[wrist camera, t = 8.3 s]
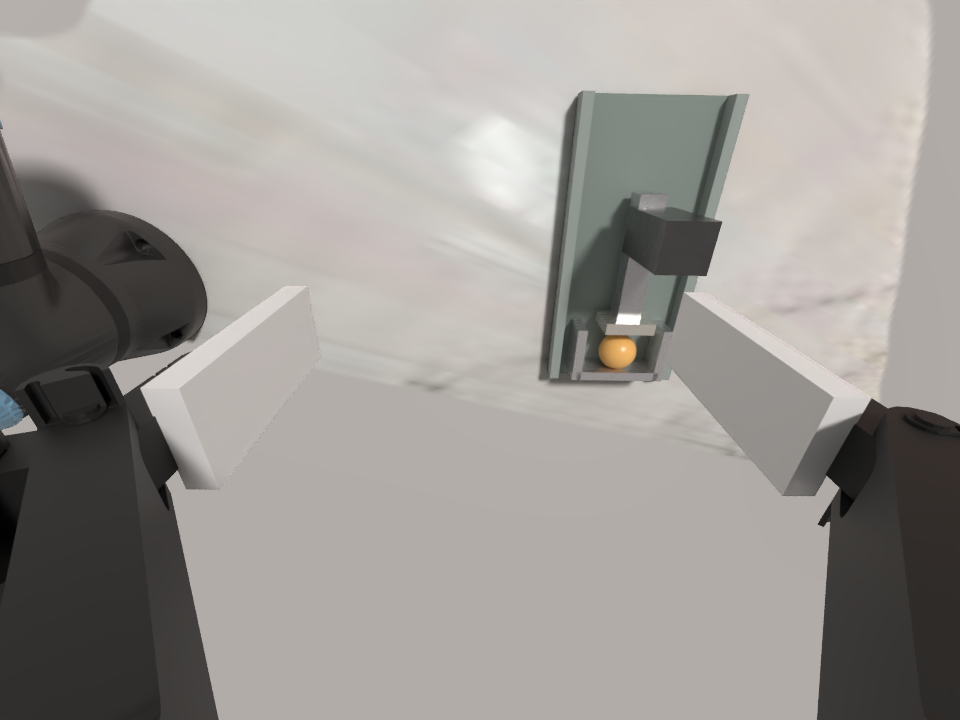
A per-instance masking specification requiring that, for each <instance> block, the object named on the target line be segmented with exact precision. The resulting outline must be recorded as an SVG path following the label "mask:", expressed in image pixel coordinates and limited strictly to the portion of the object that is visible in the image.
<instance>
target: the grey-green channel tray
mask: <svg viewBox="0 0 960 720" xmlns="http://www.w3.org/2000/svg"><path fill="white" fill-rule="evenodd" d="M748 98H749V94H735V95H730V96H707V95H658V94H609V93H595V91H582V92H580V93H579V94H578V99H577V108H576V117H575V126H574V135H573V144H572V153H571V162H570V171H569V180H568V189H567V198H566V207H565V216H564V225H563V234H562V243H561V251H560V260H559V269H558V278H557V287H556V296H555V305H554V314H553V323H552V332H551V341H550V350H549V359H548V368H547V371H548V374H549V377H550V378H559V372H561V373H568V370H567V368H566V359H567V351H568V344H569V337H570V329H571V322H572V318H580V319H581V320H582V321H583V323H584V325H585V326H586V328H587V330H588V336H587V342H586V348H585V355H584V358H600V357H599V353H598V350H599V345H600V343H601V341H602V340H603V339H604V338H605V337H606V336H608V335H605V334H604V332H603V331H602V329H601V328H600V326H599V325H598V323H597V322H596V320H595V318H596V312H597V310H610V309H611V304H612V298H613V293H614V287H615V282H616V276H617V271H618V265H619V260H620V254H621V249H622V243H623V238H624V233H625V227H626V222H627V216H628V211H629V205H630V200H631V194H632V192H655V193H661V194H665V195H668V197H667V202H666V206H665V207H675V208H678V209H682V210H685V211H688V212H692V213H695V214H698V215H702V216H705V217H708V218H712V219H714V218H715V214H716V211H717V207H718V204H719V200H720V197H721V193H722V190H723V186H724V183H725V179H726V175H727V172H728V168H729V165H730V161H731V158H732V154H733V151H734V147H735V144H736V140H737V137H738V133H739V129H740V126H741V122H742V119H743V115H744V112H745V108H746V105H747V101H748ZM697 278H698V276H676V275H654V274H652V273H650V278H649V282H648V287H647V291H646V296H645V300H644V305H643V309H642V311H643V312H644V313H645V314H646V315H647V316H648V317H649V318H650V319H651V320H662V321H663V322H664V323H665V324H666V325H667V326H668V327H669V328H670V329H671V330H672V331H673V330H674V326H675V323H676V319H677V315H678V312H679V308H680V304H681V300H682V297H683V293H684V292H694V289H695V285H696V282H697ZM628 336H629V337H630V338H631V339H632V340H633V341H634V343H635V345H636V356H635V359H643V355H644V351H645V347H646V343H647V338H648V336H646V335H628ZM671 370H672V369H671V368H670V367H669V365H668V364H667V363H666V364H665V367H664V371H663V375H662V378H661V380H669V377H670V374H671Z"/></svg>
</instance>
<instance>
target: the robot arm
mask: <svg viewBox="0 0 960 720" xmlns="http://www.w3.org/2000/svg"><path fill="white" fill-rule="evenodd" d="M0 129H3V127H2V124H1V122H0ZM206 309H207V300H206V293H205V289H204V285H203V282H202V280H201V277H200V275H199V273H198V271H197V269H196V268H195V266H194V264H193V263H192V261H191V260H190V259H189V257H188V256H187V255H186V253H185V252H184V251H183V250H182V249H181V248H180V247H179V246H178V245H177V244H176V243H175V242H174V241H173V240H172V239H171V238H170V237H168V236H167V235H166V234H165V233H163V232H162V231H160V230H159V229H158V228H156V227H154V226H153V225H151V224H149V223H147V222H145V221H143V220H141V219H139V218H137V217H134V216H131V215H128V214H125V213H121V212H116V211H108V210H96V211H89V212H83V213H77V214H72V215H68V216H65V217H62V218H60V219H58V220H56V221H54V222H52V223H51V224H49V225H48V226H47V227H45V228H44V229H42V230H41V231H39V232H38V233H36V232H35V229H34V226H33V223H32V220H31V217H30V215H29V212H28V209H27V206H26V203H25V200H24V197H23V194H22V191H21V189H20V186H19V183H18V180H17V177H16V174H15V171H14V168H13V166H12V163H11V160H10V157H9V154H8V151H7V148H6V145H5V143H4V140H3V137H2V134H1V131H0V720H218V715H217V710H216V705H215V701H214V696H213V691H212V686H211V682H210V677H209V672H208V668H207V663H206V658H205V653H204V648H203V644H202V639H201V634H200V629H199V625H198V620H197V615H196V610H195V606H194V601H193V596H192V591H191V587H190V582H189V577H188V572H187V568H186V563H185V558H184V553H183V549H182V544H181V540H180V535H179V530H178V525H177V520H176V516H175V511H174V506H173V501H172V497H171V493H170V491H169V489H168V487H167V485H166V483H165V482H166V481H167V480H168V479H169V478H170V477H171V476H172V475H173V474H174V473H175V472H176V471H177V470H178V472H179V474H180V476H181V479H182V481H183V483H184V485H185V487H186V489H212V490H220V489H221V487H222V486H223V485H224V483H225V482H226V481H227V479H228V478H229V477H230V475H231V474H232V473H233V472H234V470H235V469H236V467H237V466H238V465H239V463H240V462H241V461H242V460H243V458H244V457H245V456H246V454H247V453H248V452H249V450H250V449H251V447H253V445H254V444H255V443H256V441H257V440H258V439H259V437H260V436H261V435H262V433H263V432H264V431H265V429H266V428H267V427H268V426H269V424H270V423H271V422H272V420H273V419H274V418H275V416H276V415H277V414H278V412H279V411H280V410H281V408H282V407H283V406H284V405H285V403H286V402H287V401H288V399H289V398H290V397H291V395H292V394H293V393H294V391H295V390H296V389H297V388H298V386H299V385H300V383H301V382H302V381H303V380H304V378H305V377H306V376H307V374H308V373H309V372H310V370H311V369H312V368H313V367H314V365H315V364H316V363H317V361H318V360H319V359H320V357H321V354H320V349H319V344H318V338H317V333H316V328H315V323H314V318H313V313H312V308H311V303H310V298H309V292H308V287H307V286H284V287H283V288H281V289H280V290H279V291H277V292H276V293H274V294H273V295H271V296H270V297H269V298H267V299H266V300H264V301H263V302H262V303H260V304H259V305H257V306H256V307H254V308H253V309H252V310H250V311H249V312H247V313H246V314H245V315H243V316H242V317H240V318H239V319H237V320H236V321H235V322H233V323H232V324H230V325H229V326H228V327H226V328H225V329H223V330H222V331H220V332H219V333H218V334H216V335H215V336H213V337H212V338H210V339H209V340H208V341H206V342H205V343H203V344H202V345H201V346H199V347H198V348H196V349H195V350H193V351H191V352H189V353H187V354H184V355H182V356H180V357H179V358H178V359H176V360H175V361H173V362H172V363H170V364H169V365H168V367H165V368H163V369H162V370H160V371H159V372H157V373H156V376H152V377H150V378H149V379H147V380H146V381H144V382H143V383H142V384H140V385H139V386H137V387H136V388H134V389H133V390H131V391H130V392H129V393H127V394H126V395H124V396H123V395H122V393H121V391H120V389H119V387H118V385H117V383H116V381H115V379H114V376H113V374H112V372H111V370H110V369H109V366H111V365H112V364H114V363H116V362H117V361H122V360H127V359H132V358H137V357H142V356H147V355H152V354H157V353H162V352H165V351H168V350H170V349H173V348H175V347H177V346H178V345H180V344H182V343H183V342H185V341H186V340H188V339H189V338H191V337H192V336H193V335H194V334H195V333H196V332H197V331H198V330H199V329H200V327H201V325H202V323H203V321H204V318H205V315H206ZM665 362H666V363H667V364H668V365H669V367H670V368H671V369H672V370H673V371H674V372H675V373H676V375H677V376H678V377H679V378H680V379H681V380H682V381H683V383H684V384H685V385H686V386H687V387H688V388H689V389H690V391H691V392H692V393H693V394H694V395H695V396H696V397H697V399H698V400H699V401H700V402H701V403H702V404H703V405H704V407H705V408H706V409H707V410H708V411H709V412H710V413H711V415H712V416H713V417H714V418H715V419H716V420H717V421H718V423H719V424H720V425H721V426H722V427H723V428H724V429H725V431H726V432H727V433H728V434H729V435H730V436H731V438H732V439H733V440H734V441H735V442H736V443H737V444H738V446H739V447H740V448H741V449H742V450H743V451H744V452H745V454H746V455H747V456H748V457H749V458H750V459H751V460H752V462H753V463H754V464H755V465H756V466H757V467H758V468H759V470H760V471H761V472H762V473H763V474H764V475H765V476H766V478H767V479H768V480H769V481H770V482H771V483H772V484H773V486H774V487H775V488H776V489H777V490H778V491H779V492H780V493H781V495H782V496H815V495H816V493H817V491H818V490H819V488H820V486H821V485H822V483H823V481H824V479H825V478H826V476H828V477H829V478H830V479H831V480H832V481H833V482H834V483H835V484H836V485H837V486H838V487H839V490H838V492H837V493H836V495H835V497H834V498H833V500H832V502H831V503H830V505H829V506H828V508H827V510H826V511H825V513H824V515H823V516H822V518H821V519H820V521H819V523H818V525H820V526H823V527H824V526H825V524H826V523H827V522H830V536H829V551H828V565H827V581H826V595H825V610H824V626H823V640H822V654H821V670H820V685H819V699H818V714H817V720H960V425H959V424H958V423H956V422H954V421H951V420H949V419H947V418H945V417H943V416H941V415H938V414H935V413H932V412H927V411H924V410H919V409H914V408H909V407H892V408H889V409H888V408H886V407H884V406H883V405H881V404H880V403H878V402H877V401H875V400H874V399H872V398H871V397H869V396H868V395H866V394H865V393H863V392H862V391H860V390H858V389H857V388H855V387H854V386H852V385H851V384H849V383H847V382H846V381H844V380H843V379H841V378H840V377H838V376H836V375H835V374H833V373H832V372H830V371H828V370H827V369H825V368H824V367H822V366H821V365H819V364H817V363H816V362H814V361H813V360H811V359H810V358H808V357H806V356H805V355H803V354H802V353H800V352H799V351H797V350H795V349H794V348H792V347H791V346H789V345H788V344H786V343H784V342H783V341H781V340H780V339H778V338H776V337H775V336H773V335H772V334H770V333H769V332H767V331H765V330H764V329H762V328H761V327H759V326H758V325H756V324H754V323H753V322H751V321H750V320H748V319H747V318H745V317H743V316H742V315H740V314H739V313H737V312H735V311H734V310H732V309H731V308H729V307H728V306H726V305H724V304H723V303H721V302H720V301H718V300H717V299H715V298H713V297H712V296H710V295H709V294H707V293H706V292H684V293H683V297H682V300H681V304H680V308H679V312H678V315H677V319H676V323H675V326H674V330H673V334H672V337H671V341H670V345H669V349H668V352H667V356H666V360H665ZM27 415H29V416H30V417H31V419H32V420H33V422H34V423H35V425H36V427H37V431H32V432H26V433H19V434H14V435H7V436H5V435H4V434H3V433H2V431H1V430H3V429H6V428H9V427H12V426H14V425H16V424H17V423H18V422H20V421H21V420H22V418H24V417H26V416H27Z"/></svg>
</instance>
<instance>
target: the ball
mask: <svg viewBox="0 0 960 720" xmlns="http://www.w3.org/2000/svg"><path fill="white" fill-rule="evenodd" d="M598 353H599V357H600V359H601V361H602V362H603V363H604V364H605V365H606V366H608V367H610V368H614V369H621V368H624V367H627V366H628V365H630V364H631V363H632V362H633V360H634V359H635V356H636V345H635V343H634V341H633V340H632V339H631V338H630V337H629V336H628V335H608V336H606V337H605V338H604V339H603V340H602V341H601V343H600V345H599V350H598Z"/></svg>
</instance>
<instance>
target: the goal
mask: <svg viewBox="0 0 960 720" xmlns="http://www.w3.org/2000/svg"><path fill="white" fill-rule="evenodd" d="M652 321H653V322H654V323H655V324H656V325H657V326H656V330H655V334H654V336H648V338H647V343H646V347H645V351H644V355H643V359H634V360H633V362H632V363H631V364H630V365H628V366H627V367H624V368H621V369H614V368H610V367H608V366H606V365H605V364H604V363H603V362H602V361H601V359H600V358H584V355H585V348H586V342H587V336H588V330H587V328H586V326H585V325H584V323H583V321H582V320H581V319H580V318H572V322H571V329H570V337H569V344H568V351H567V359H566V368H567V370H568V373H569V375H570V378H571V380H608V381H661V378H662V375H663V371H664V367H665V364H666V362H665V360H666V356H667V352H668V349H669V345H670V341H671V337H672V334H673V331H672V330H671V329H670V328H669V327H668V326H667V325H666V324H665V323H664V322H663V321H662V320H652Z"/></svg>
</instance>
